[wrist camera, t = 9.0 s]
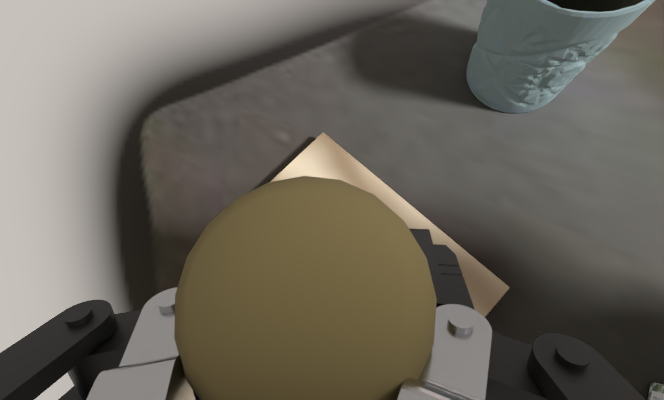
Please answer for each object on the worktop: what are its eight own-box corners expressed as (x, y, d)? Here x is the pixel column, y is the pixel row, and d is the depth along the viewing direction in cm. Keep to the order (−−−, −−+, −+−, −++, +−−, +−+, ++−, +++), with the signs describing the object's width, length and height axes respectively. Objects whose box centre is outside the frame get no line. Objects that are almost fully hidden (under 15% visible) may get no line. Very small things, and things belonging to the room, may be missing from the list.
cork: (404, 246, 16) (459, 121, 6) (413, 386, 14) (517, 551, 4) (283, 247, 17) (148, 136, 7) (275, 382, 15) (65, 513, 5)
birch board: (325, 140, 33) (323, 132, 31) (502, 289, 26) (509, 287, 25) (199, 259, 30) (190, 256, 29) (362, 455, 24) (361, 463, 22)
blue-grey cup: (479, 25, 35) (529, -113, 24) (584, 52, 33) (694, -88, 21) (444, 102, 33) (481, -12, 21) (554, 138, 30) (661, 30, 19)
